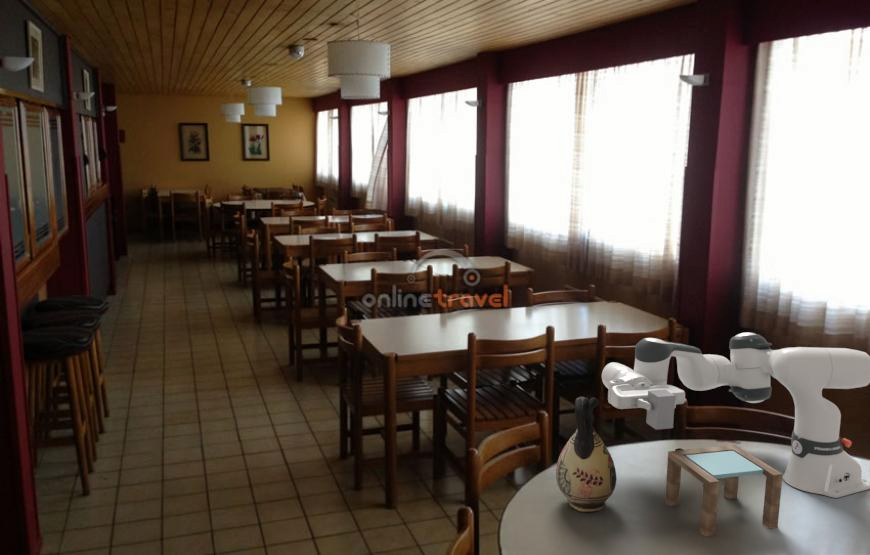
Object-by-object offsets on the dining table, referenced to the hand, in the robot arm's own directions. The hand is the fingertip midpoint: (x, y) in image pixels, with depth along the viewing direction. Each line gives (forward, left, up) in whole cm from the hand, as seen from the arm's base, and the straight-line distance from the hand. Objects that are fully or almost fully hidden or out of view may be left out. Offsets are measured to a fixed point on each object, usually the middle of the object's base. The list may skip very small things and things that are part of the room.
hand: (662, 406), depth 193 cm
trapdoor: (-10, +13, -12) cm, 20 cm away
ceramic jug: (+22, +1, -25) cm, 33 cm away
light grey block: (0, -1, -6) cm, 6 cm away
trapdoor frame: (-10, +13, -25) cm, 30 cm away
